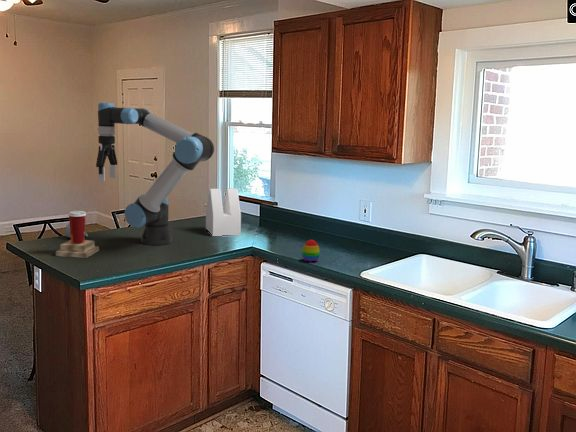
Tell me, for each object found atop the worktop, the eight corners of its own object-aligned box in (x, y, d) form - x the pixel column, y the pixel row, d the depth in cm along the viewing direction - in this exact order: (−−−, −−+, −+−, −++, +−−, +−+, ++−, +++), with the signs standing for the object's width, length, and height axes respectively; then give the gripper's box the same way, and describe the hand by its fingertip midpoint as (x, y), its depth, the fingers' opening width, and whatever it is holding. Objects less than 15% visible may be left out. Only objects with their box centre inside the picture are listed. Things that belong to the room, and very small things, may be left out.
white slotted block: (240, 236, 308) (241, 191, 304) (212, 237, 303) (213, 191, 299) (231, 229, 326) (232, 186, 322) (205, 229, 321) (206, 186, 316)
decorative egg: (321, 263, 257) (322, 241, 255) (304, 263, 255) (305, 241, 253) (316, 258, 265) (317, 237, 263) (299, 258, 263) (300, 237, 261)
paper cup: (90, 242, 257) (90, 211, 255) (77, 245, 250) (77, 214, 248) (77, 239, 260) (77, 210, 258) (64, 242, 254) (64, 212, 251)
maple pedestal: (99, 250, 262) (98, 240, 261) (86, 257, 249) (86, 246, 248) (70, 248, 263) (69, 238, 262) (55, 256, 249) (55, 245, 249)
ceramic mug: (76, 240, 280) (76, 225, 279) (64, 238, 283) (64, 223, 282) (92, 237, 290) (92, 223, 288) (80, 235, 293) (79, 221, 292)
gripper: (109, 134, 282) (109, 176, 285) (88, 135, 257) (88, 181, 261) (123, 135, 281) (123, 177, 285) (103, 136, 257) (104, 182, 260)
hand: (107, 179), depth 273 cm, fingers open, 13 cm apart
